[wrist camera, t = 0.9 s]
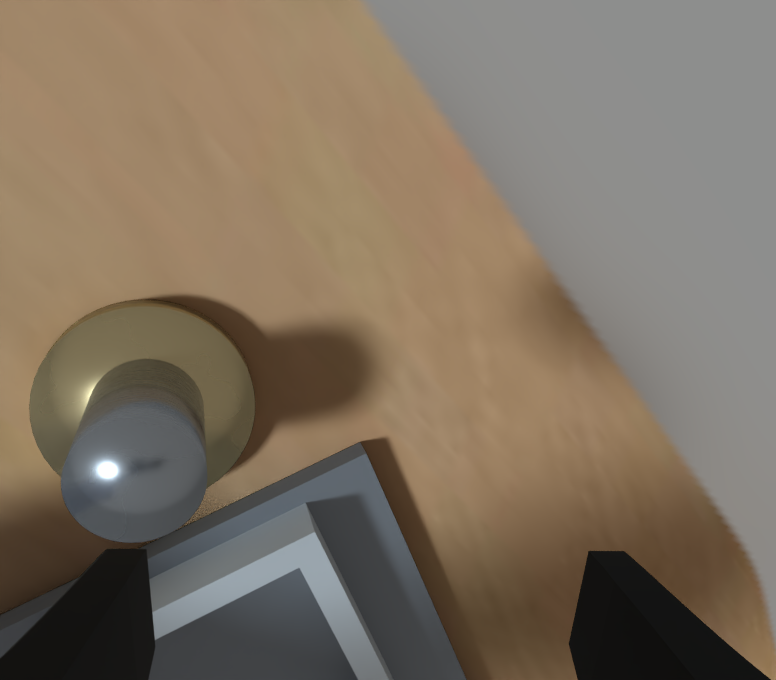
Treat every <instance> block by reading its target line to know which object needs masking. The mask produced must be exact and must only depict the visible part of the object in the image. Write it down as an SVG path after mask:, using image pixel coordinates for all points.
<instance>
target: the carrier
mask: <svg viewBox="0 0 776 680" xmlns="http://www.w3.org/2000/svg"><path fill="white" fill-rule="evenodd" d="M139 549H147V559H148V570H149V581H150V592H151V603H152V614H153V625H154V636H155V651H154V656H153V661H152V665H151V670H150V674H149V679H148V680H467V679H466V677H465V675H464V673H463V670H462V668H461V666H460V664H459V661H458V659H457V657H456V655H455V652H454V650H453V648H452V646H451V643H450V641H449V639H448V637H447V634H446V632H445V630H444V628H443V625H442V623H441V621H440V619H439V616H438V614H437V612H436V610H435V607H434V605H433V603H432V601H431V598H430V596H429V594H428V591H427V589H426V587H425V585H424V582H423V580H422V578H421V576H420V573H419V571H418V569H417V567H416V564H415V562H414V560H413V558H412V555H411V553H410V551H409V549H408V546H407V544H406V542H405V540H404V537H403V535H402V533H401V531H400V528H399V526H398V524H397V522H396V519H395V517H394V515H393V512H392V510H391V508H390V506H389V503H388V501H387V499H386V497H385V494H384V492H383V490H382V488H381V485H380V483H379V481H378V479H377V476H376V474H375V472H374V470H373V467H372V465H371V463H370V461H369V458H368V456H367V454H366V452H365V450H364V448H363V446H362V445H361V443H360V442H359V443H357V444H355V445H353V446H351V447H349V448H347V449H345V450H342V451H340V452H338V453H336V454H334V455H332V456H330V457H328V458H326V459H324V460H322V461H320V462H318V463H315V464H313V465H311V466H309V467H307V468H305V469H303V470H301V471H299V472H297V473H295V474H293V475H291V476H288V477H286V478H284V479H282V480H280V481H278V482H276V483H274V484H272V485H270V486H268V487H266V488H264V489H261V490H259V491H257V492H255V493H253V494H251V495H249V496H247V497H245V498H243V499H241V500H239V501H237V502H234V503H232V504H230V505H228V506H226V507H224V508H222V509H220V510H218V511H216V512H214V513H212V514H210V515H207V516H205V517H203V518H201V519H199V520H197V521H195V522H193V523H191V524H189V525H187V526H185V527H182V528H180V529H178V530H176V531H174V532H172V533H170V534H168V535H166V536H164V537H162V538H160V539H158V540H155V541H153V542H151V543H149V544H147V545H145V546H143V547H141V548H139ZM77 579H78V578H77ZM77 579H74V580H72V581H70V582H68V583H66V584H64V585H62V586H60V587H58V588H56V589H54V590H52V591H49V592H47V593H45V594H43V595H41V596H39V597H37V598H35V599H33V600H31V601H29V602H27V603H25V604H22V605H20V606H18V607H16V608H14V609H12V610H10V611H8V612H6V613H4V614H2V615H0V658H1V657H2V656H3V655H4V654H5V653H6V652H7V651H8V650H9V649H10V648H11V647H12V646H13V645H14V644H15V643H16V642H17V641H18V640H19V639H20V638H21V637H22V636H23V635H24V634H25V633H26V632H27V631H28V630H29V629H30V628H31V627H32V626H33V625H34V624H35V623H36V622H37V621H38V620H39V619H40V618H41V617H42V616H43V615H44V614H45V613H46V612H47V611H48V610H49V609H50V608H51V607H52V606H53V605H54V603H55V602H56V601H57V600H58V599H59V598H60V597H61V596H62V595H63V594H64V593H65V592H66V591H67V590H68V589H69V588H70V587H71V586H72V585H73V583H74V582H75V581H76V580H77Z"/></svg>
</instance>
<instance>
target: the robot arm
mask: <svg viewBox="0 0 776 680" xmlns="http://www.w3.org/2000/svg"><path fill="white" fill-rule="evenodd" d="M569 646H570V650H571V654H572V658H573V662H574V666H575V670H576V674H577V678H578V680H771V679H769V678H768V677H767V676H766V675H764V674H763V673H762V672H761V671H759V670H758V669H757V668H756V667H754V666H753V665H752V664H751V663H750V662H748V661H747V660H746V659H745V658H744V657H743V656H741V655H740V654H739V653H738V652H737V651H735V650H734V649H733V648H732V647H731V646H730V645H728V644H727V643H726V642H725V641H724V640H723V639H721V638H720V637H719V636H718V635H717V634H716V633H715V632H713V631H712V630H711V629H710V628H709V627H708V626H707V625H706V624H704V623H703V622H702V621H701V620H700V619H699V618H698V617H697V616H695V615H694V614H693V613H692V612H691V611H690V610H689V609H688V608H687V607H685V606H684V605H683V604H682V603H681V602H680V601H679V600H678V599H677V598H676V597H675V596H673V595H672V594H671V593H670V592H669V591H668V590H667V589H666V588H665V587H664V586H662V585H661V584H660V583H659V582H658V581H657V580H656V579H655V578H654V577H653V576H652V575H650V574H649V573H648V572H647V571H646V570H645V569H644V568H643V567H642V566H640V565H639V564H638V563H637V562H636V561H635V560H634V559H633V558H631V557H630V556H629V555H628V554H627V553H626V552H624V551H589V552H588V557H587V561H586V566H585V571H584V575H583V580H582V585H581V589H580V594H579V599H578V603H577V608H576V613H575V618H574V622H573V627H572V632H571V636H570V641H569ZM154 651H155V636H154V625H153V614H152V603H151V592H150V581H149V570H148V559H147V549H107V550H105V551H104V552H103V553H102V554H101V555H100V556H99V557H98V558H97V559H96V560H95V561H94V562H93V563H92V564H91V565H90V566H89V567H88V568H87V570H86V571H85V572H84V573H83V574H82V575H81V576H80V577H79V578H78V579H77V580H76V581H75V582H74V583H73V585H72V586H71V587H70V588H69V589H68V590H67V591H66V592H65V593H64V594H63V595H62V596H61V597H60V598H59V599H58V600H57V601H56V602H55V603H54V605H53V606H52V607H51V608H50V609H49V610H48V611H47V612H46V613H45V614H44V615H43V616H42V617H41V618H40V619H39V620H38V621H37V622H36V623H35V624H34V625H33V626H32V627H31V628H30V629H29V630H28V631H27V632H26V633H25V634H24V635H23V636H22V637H21V638H20V639H19V640H18V641H17V642H16V643H15V644H14V645H13V646H12V647H11V648H10V649H9V650H8V651H7V652H6V653H5V654H4V655H3V656H2V657H1V658H0V680H148V679H149V674H150V670H151V665H152V661H153V656H154Z"/></svg>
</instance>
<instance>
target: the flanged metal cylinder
mask: <svg viewBox="0 0 776 680" xmlns="http://www.w3.org/2000/svg"><path fill="white" fill-rule="evenodd" d="M29 410H30V422H31V427H32V432H33V435H34V438H35V440H36V443H37V446H38V448H39V449H40V451H41V453H42V455H43V457H44V458H45V460H46V461H47V462H48V464H49V465H50V466H51V467H52V469H53V470H54V471H55V472H56V473H57V474H58V475H59V476H60V477H61V490H62V495H63V499H64V502H65V504H66V506H67V508H68V510H69V512H70V513H71V515H72V516H73V517H74V519H75V520H76V521H77V522H78V523H79V524H80V525H81V526H83V527H84V528H86V529H87V530H88V531H90V532H92V533H94V534H95V535H97V536H100V537H102V538H105V539H108V540H112V541H117V542H127V543H135V542H145V541H150V540H154V539H157V538H160V537H163V536H165V535H168V534H169V533H171V532H173V531H175V530H176V529H178V528H179V527H181V526H182V525H183V524H184V523H186V522H187V521H188V520H189V519H190V518H191V517H192V515H193V514H194V513H195V512H196V510H197V509H198V507H199V506H200V504H201V502H202V500H203V497H204V494H205V491H206V488H208V487H209V486H211V485H212V484H214V483H215V482H216V481H218V480H219V479H220V478H221V477H222V476H223V475H224V474H225V473H227V472H228V470H229V469H230V468H231V467H232V466H233V465H234V464H235V462H236V461H237V459H238V458H239V456H240V455H241V453H242V452H243V450H244V448H245V446H246V444H247V442H248V440H249V437H250V434H251V431H252V428H253V422H254V417H255V396H254V389H253V385H252V381H251V377H250V373H249V369H248V366H247V364H246V361H245V359H244V356H243V354H242V353H241V351H240V349H239V348H238V346H237V344H236V343H235V342H234V341H233V339H232V338H231V337H230V335H229V334H228V333H226V332H225V331H224V330H223V329H222V328H221V327H220V326H219V325H218V324H217V323H215V322H214V321H213V320H211V319H210V318H208V317H207V316H205V315H203V314H201V313H200V312H198V311H196V310H193V309H191V308H188V307H186V306H183V305H179V304H176V303H172V302H167V301H160V300H142V299H141V300H131V301H124V302H119V303H115V304H111V305H108V306H105V307H103V308H100V309H97V310H95V311H93V312H91V313H89V314H87V315H86V316H84V317H83V318H81V319H80V320H78V321H77V322H75V323H74V324H73V325H71V326H70V327H69V328H68V329H67V330H66V331H65V332H64V333H63V334H62V335H61V336H60V337H59V338H58V340H57V341H56V342H55V343H54V345H53V346H52V348H51V349H50V351H49V352H48V354H47V355H46V357H45V359H44V360H43V362H42V363H41V365H40V367H39V369H38V371H37V374H36V376H35V378H34V382H33V386H32V389H31V394H30V404H29Z"/></svg>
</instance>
